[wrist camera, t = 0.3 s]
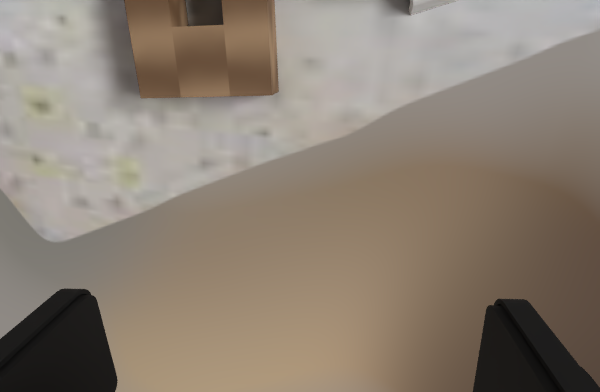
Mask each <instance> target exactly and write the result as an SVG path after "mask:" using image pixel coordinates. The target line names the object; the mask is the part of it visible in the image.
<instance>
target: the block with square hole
mask: <svg viewBox="0 0 600 392" xmlns="http://www.w3.org/2000/svg"><path fill="white" fill-rule="evenodd" d="M221 1H222V12H223V23H224V25H207V26H188V18H187V10H186V2H185V0H124V2H125V8H126V14H127V20H128V25H129V31H130V37H131V43H132V49H133V55H134V61H135V67H136V73H137V78H138V84H139V90H140V96H141V98H170V97H215V96H261V95H273V94H275V93H277V92H279V89H278V68H277V47H276V25H275V4H274V0H221Z"/></svg>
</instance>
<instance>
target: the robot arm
mask: <svg viewBox="0 0 600 392" xmlns="http://www.w3.org/2000/svg"><path fill="white" fill-rule="evenodd" d="M116 387H117V376H116V372H115V368H114V364H113V360H112V357H111V353H110V349H109V345H108V341H107V337H106V334H105V329H104V326H103V322H102V318H101V314H100V310H99V307H98V303H97V300H96V298H95V297H94V296H92V295H91V293H90V292H89V291H88V290H86V289H61V290H59V291H57V292H56V293H55V294H54V295H52V296H51V297H50V298H49V299H48V300H47V301H45V302H44V303H43V304H42V305H41V306H39V307H38V308H37V309H36V310H35V311H33V312H32V313H31V314H30V315H29V316H27V317H26V318H25V319H24V320H23V321H21V322H20V323H19V324H18V325H17V326H15V327H14V328H13V329H12V330H11V331H9V332H8V333H7V334H6V335H5V336H3V337H2V338H1V339H0V392H115V390H116ZM473 392H600V387H599V386H598V385H597V384H596V382H595V381H594V380H593V379H592V377H591V376H590V375H589V374H588V373H587V372H586V371H585V370H584V369H583V368H582V367H580V366H579V365H578V363H577V362H576V361H575V360H574V358H573V357H572V356H571V355H570V353H569V352H568V351H567V349H566V348H565V347H564V346H563V344H562V343H561V342H560V341H559V339H558V338H557V337H556V336H555V334H554V333H553V332H552V331H551V329H550V328H549V327H548V326H547V324H546V323H545V322H544V321H543V319H542V318H541V317H540V315H539V314H538V313H537V312H536V310H535V309H534V308H533V307H532V305H531V304H530V303H529V302H528V301H527V300H524V299H522V300H521V299H497V300H496V302H495V303H494V305H489V306H488V307H487V309H486V314H485V320H484V326H483V333H482V339H481V345H480V351H479V357H478V363H477V370H476V376H475V382H474V388H473Z"/></svg>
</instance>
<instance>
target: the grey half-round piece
mask: <svg viewBox="0 0 600 392" xmlns="http://www.w3.org/2000/svg"><path fill="white" fill-rule="evenodd" d="M455 1H458V0H410V6H409V12H410V15H414V14H417V13H420V12H423V11H426V10H429V9H433V8H436V7H439V6H442V5H445V4H449V3H452V2H455Z"/></svg>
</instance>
